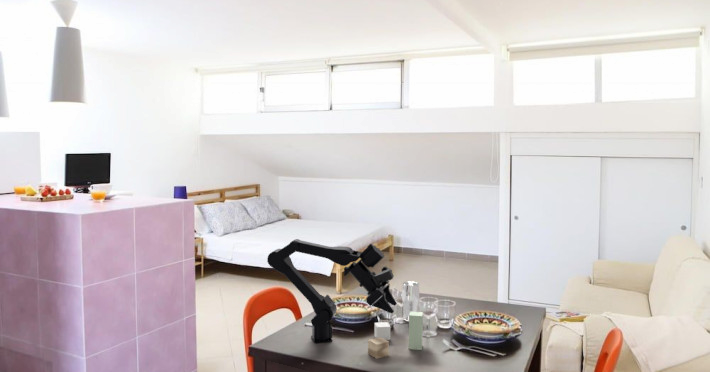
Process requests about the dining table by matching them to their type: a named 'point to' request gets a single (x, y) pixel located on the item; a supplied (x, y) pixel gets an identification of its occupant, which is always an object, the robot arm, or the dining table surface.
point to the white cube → (382, 330)
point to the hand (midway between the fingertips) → (394, 308)
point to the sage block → (415, 330)
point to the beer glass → (410, 298)
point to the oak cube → (378, 347)
